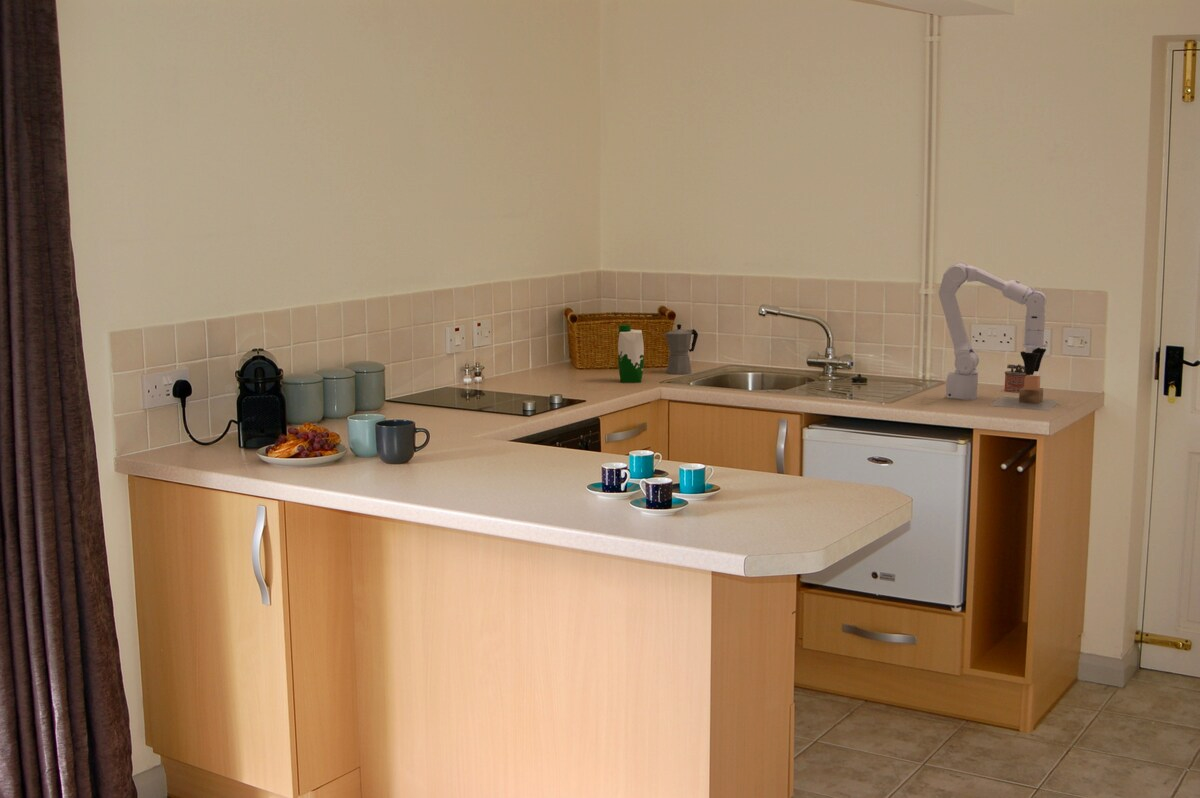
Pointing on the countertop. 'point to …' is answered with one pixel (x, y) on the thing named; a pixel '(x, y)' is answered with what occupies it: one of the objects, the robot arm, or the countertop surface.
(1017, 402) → the baseplate
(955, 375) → the robot arm
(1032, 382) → the top brick
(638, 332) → the milk carton
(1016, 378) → the lighter
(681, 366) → the coffeepot
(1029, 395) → the base brick
